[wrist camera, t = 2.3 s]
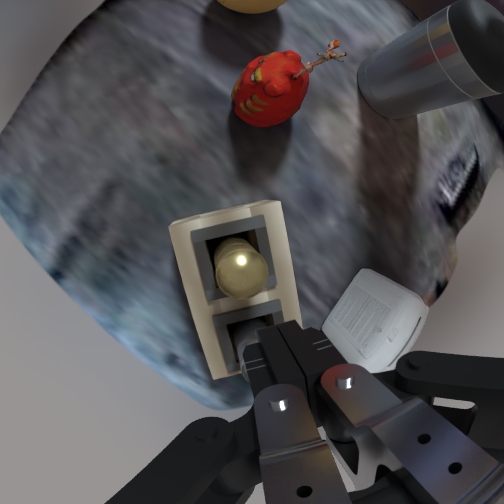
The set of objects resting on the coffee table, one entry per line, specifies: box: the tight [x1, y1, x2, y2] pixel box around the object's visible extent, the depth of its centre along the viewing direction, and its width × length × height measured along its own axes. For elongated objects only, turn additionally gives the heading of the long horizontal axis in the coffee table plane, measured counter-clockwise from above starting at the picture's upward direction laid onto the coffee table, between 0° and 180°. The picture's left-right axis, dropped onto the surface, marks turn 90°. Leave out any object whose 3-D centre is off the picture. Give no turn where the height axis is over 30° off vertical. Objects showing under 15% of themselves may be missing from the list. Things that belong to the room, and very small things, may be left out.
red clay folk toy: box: [231, 39, 347, 127], centre depth 22 cm, size 8×7×15 cm
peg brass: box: [214, 237, 269, 300], centre depth 24 cm, size 4×4×6 cm
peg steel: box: [234, 318, 268, 382], centre depth 26 cm, size 4×4×6 cm
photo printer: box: [322, 268, 429, 373], centre depth 30 cm, size 10×4×12 cm, turn 147°
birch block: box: [169, 200, 303, 380], centre depth 30 cm, size 10×16×7 cm, turn 12°
